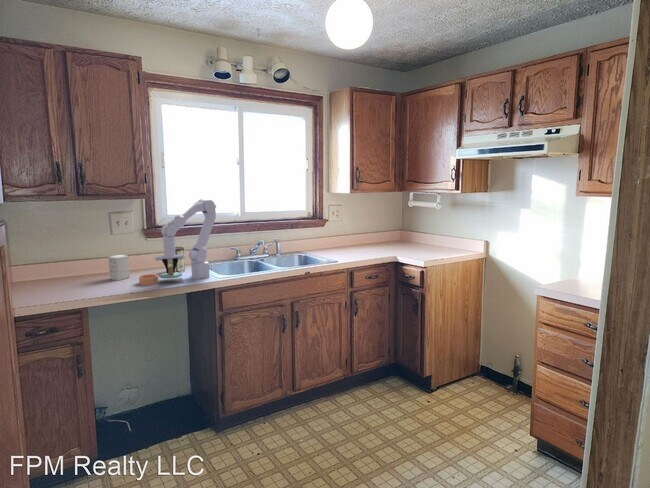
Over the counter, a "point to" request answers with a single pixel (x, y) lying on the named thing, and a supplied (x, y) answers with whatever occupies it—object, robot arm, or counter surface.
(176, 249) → the coffee can
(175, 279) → the mat
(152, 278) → the bowl
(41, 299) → the counter surface
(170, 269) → the lid
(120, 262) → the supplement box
